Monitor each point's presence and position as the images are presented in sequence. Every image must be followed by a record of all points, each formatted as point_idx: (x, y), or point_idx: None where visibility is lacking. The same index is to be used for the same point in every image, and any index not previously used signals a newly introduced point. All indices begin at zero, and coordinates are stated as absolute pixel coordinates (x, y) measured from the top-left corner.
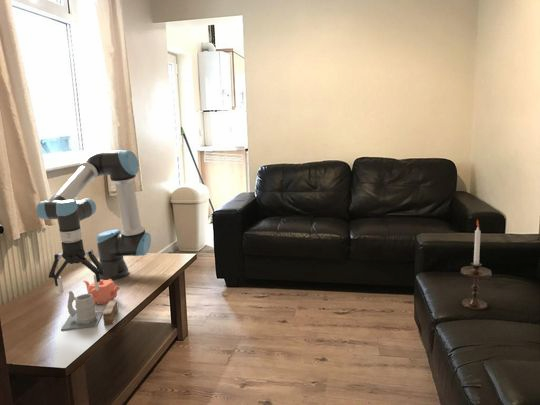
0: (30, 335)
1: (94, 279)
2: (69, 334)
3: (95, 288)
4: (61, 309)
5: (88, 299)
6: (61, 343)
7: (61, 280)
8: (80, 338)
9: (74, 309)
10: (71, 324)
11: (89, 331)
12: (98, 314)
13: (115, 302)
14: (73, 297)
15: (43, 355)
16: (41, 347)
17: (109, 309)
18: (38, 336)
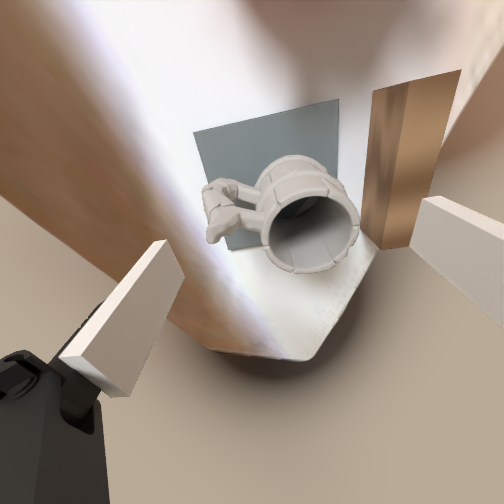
0: None
1: (499, 321)
2: (265, 267)
3: (422, 258)
4: (87, 29)
5: (342, 258)
6: (266, 302)
7: (119, 316)
8: (305, 286)
9: (234, 186)
10: None
11: None
12: (323, 139)
13: (446, 119)
14: (240, 226)
15: (251, 335)
16: (228, 313)
17: (409, 211)
18: (183, 271)
